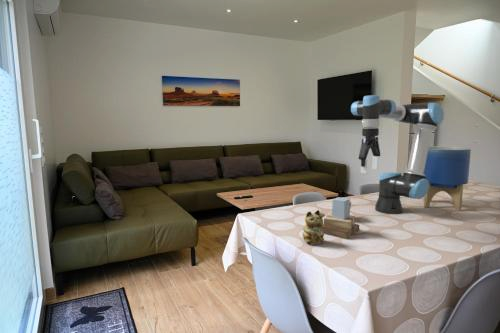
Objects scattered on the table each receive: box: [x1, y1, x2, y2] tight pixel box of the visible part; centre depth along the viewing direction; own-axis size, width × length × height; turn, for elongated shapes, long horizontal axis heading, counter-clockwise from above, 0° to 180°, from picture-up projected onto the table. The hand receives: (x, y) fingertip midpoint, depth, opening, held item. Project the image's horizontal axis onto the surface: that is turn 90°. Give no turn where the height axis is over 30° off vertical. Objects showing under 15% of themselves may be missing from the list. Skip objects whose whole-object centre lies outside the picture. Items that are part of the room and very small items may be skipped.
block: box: [331, 196, 351, 220], centre depth 158 cm, size 6×6×9 cm
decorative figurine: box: [302, 209, 326, 246], centre depth 146 cm, size 10×8×15 cm
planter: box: [422, 145, 472, 212], centre depth 205 cm, size 26×26×37 cm
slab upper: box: [323, 212, 356, 231], centre depth 159 cm, size 12×12×4 cm
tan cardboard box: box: [320, 223, 360, 240], centre depth 160 cm, size 14×14×4 cm
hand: (369, 171), depth 162 cm, fingers open, 13 cm apart
